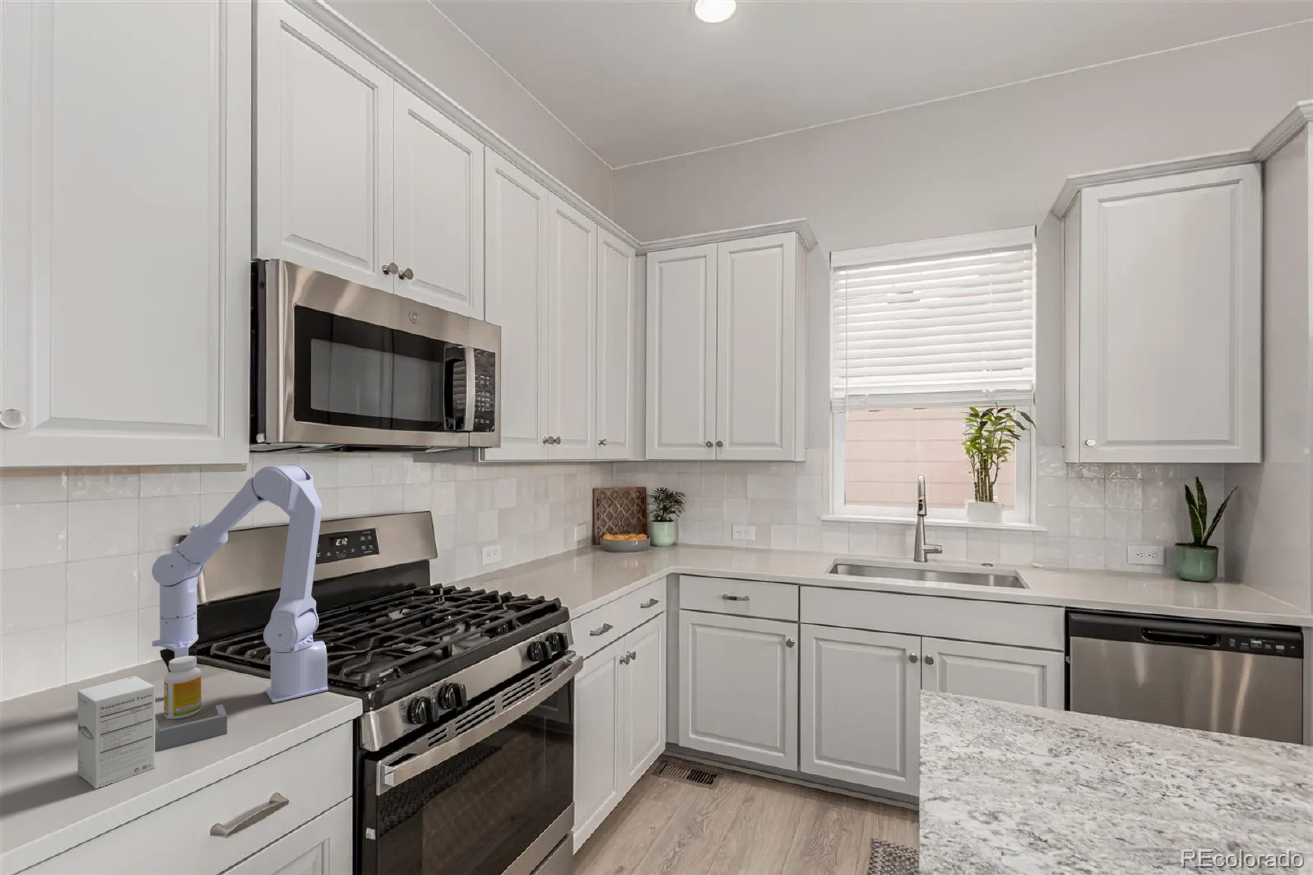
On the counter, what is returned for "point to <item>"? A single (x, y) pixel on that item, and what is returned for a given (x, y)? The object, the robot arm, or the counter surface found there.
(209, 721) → the clip holder
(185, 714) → the supplement bottle
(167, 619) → the robot arm
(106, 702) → the supplement box
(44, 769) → the counter surface
